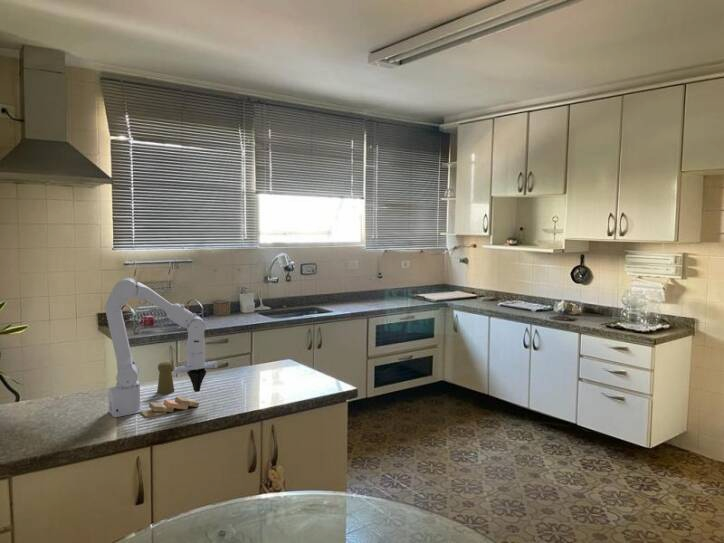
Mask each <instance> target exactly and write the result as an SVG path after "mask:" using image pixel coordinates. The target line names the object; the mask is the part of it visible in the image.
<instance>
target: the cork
mask: <svg viewBox="0 0 724 543" xmlns="http://www.w3.org/2000/svg"><path fill="white" fill-rule="evenodd" d="M173 369H174V366H173V363H172V362H171V361H163V362H159V364H158V365H157V370H158V372H159V375H158V382H157V392H156V394H159V395H167V394H168V395H169V394H172V393H174V392H175V387H174V380H173V374H172V371H173Z"/></svg>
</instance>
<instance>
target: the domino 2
mask: <svg viewBox="0 0 724 543" xmlns="http://www.w3.org/2000/svg"><path fill="white" fill-rule="evenodd" d="M163 404H165V405H166V406H168V407H171V408H174V409H179V410H186V409H187V410H188V408H189V406H187V405H180V404H179V403H177V402H176V401H175V399H172V400H171V399H166V398H165V399H164V400H163Z"/></svg>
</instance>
